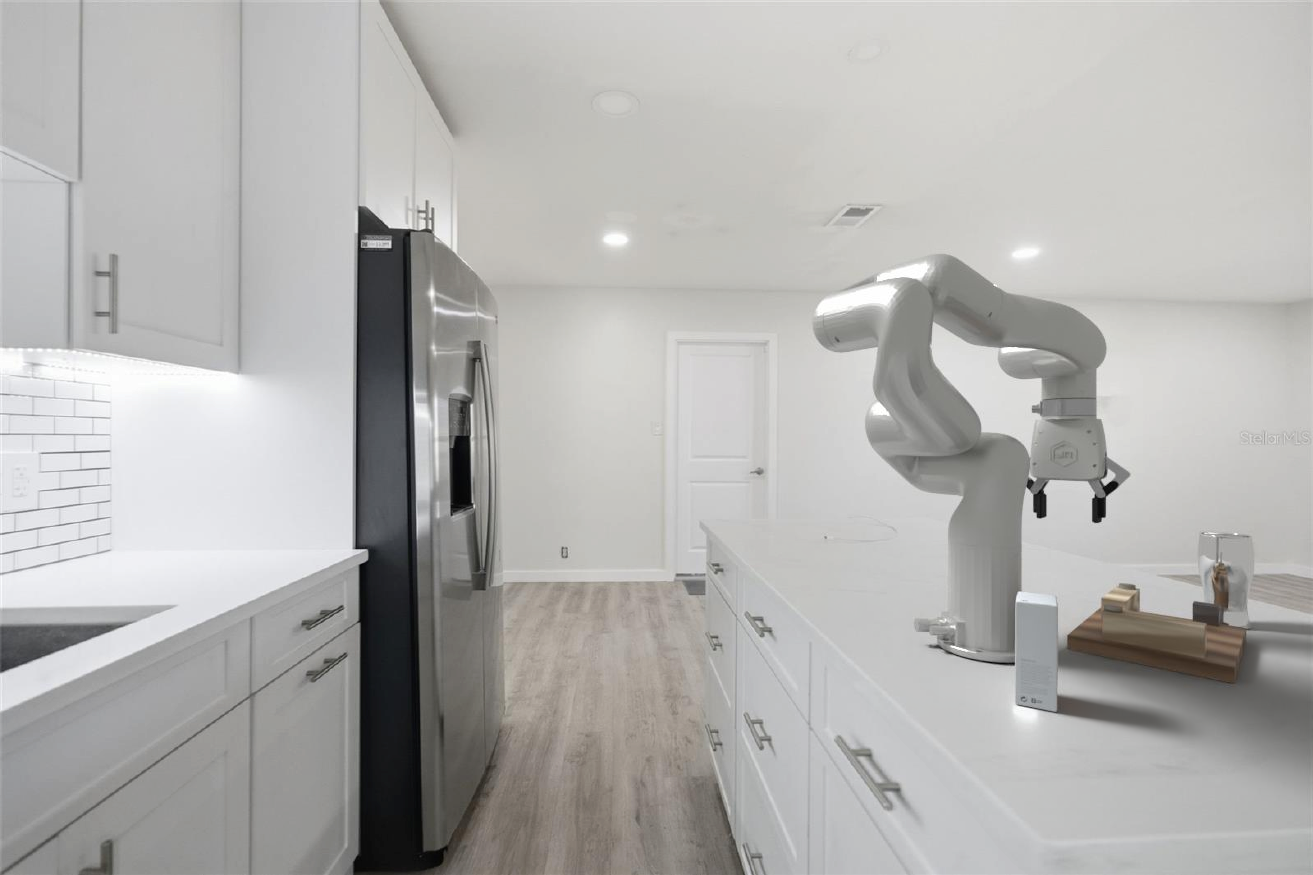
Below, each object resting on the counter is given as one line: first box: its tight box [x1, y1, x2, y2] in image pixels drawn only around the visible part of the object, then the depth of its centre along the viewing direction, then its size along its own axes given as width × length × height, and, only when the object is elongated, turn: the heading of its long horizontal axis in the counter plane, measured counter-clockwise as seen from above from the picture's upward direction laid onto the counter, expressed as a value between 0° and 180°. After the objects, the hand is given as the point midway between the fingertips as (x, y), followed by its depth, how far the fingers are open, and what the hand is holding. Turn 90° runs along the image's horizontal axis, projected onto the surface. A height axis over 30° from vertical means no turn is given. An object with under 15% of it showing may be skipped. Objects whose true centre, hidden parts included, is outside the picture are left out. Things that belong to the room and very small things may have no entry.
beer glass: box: [1197, 531, 1255, 631], centre depth 104 cm, size 7×7×15 cm
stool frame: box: [1066, 600, 1247, 684], centre depth 93 cm, size 24×18×7 cm
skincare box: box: [1014, 591, 1059, 713], centre depth 73 cm, size 6×4×12 cm
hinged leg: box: [1100, 582, 1141, 624], centre depth 99 cm, size 12×3×5 cm, turn 134°
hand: (1068, 519), depth 101 cm, fingers open, 7 cm apart
